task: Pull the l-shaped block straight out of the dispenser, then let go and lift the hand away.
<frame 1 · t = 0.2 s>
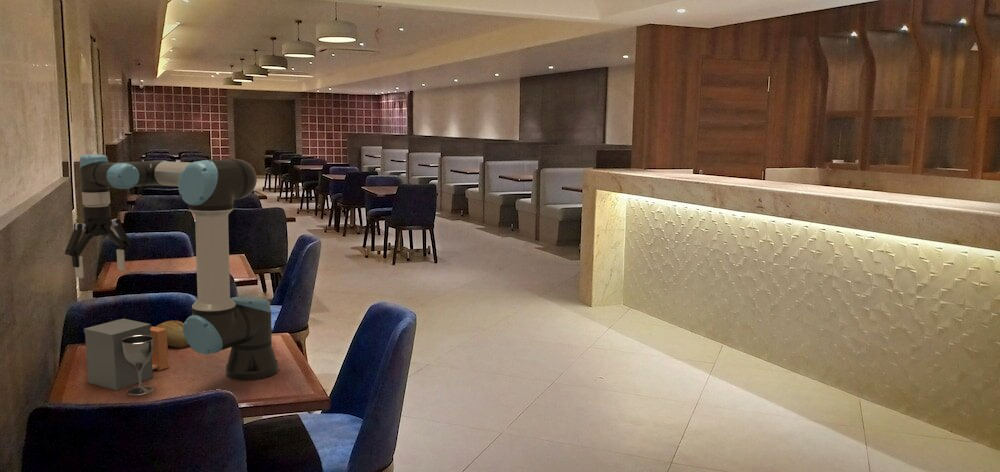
hand: (101, 273, 237), 27 cm above the table, tool pointing down, fingers open, 13 cm apart
wine glass: (140, 391, 214), on the table
l-shaped block: (145, 351, 229), point 6 cm above the table, slide at 0.0 cm
dispenser: (141, 373, 228), on the table
bread roll: (171, 345, 256), on the table
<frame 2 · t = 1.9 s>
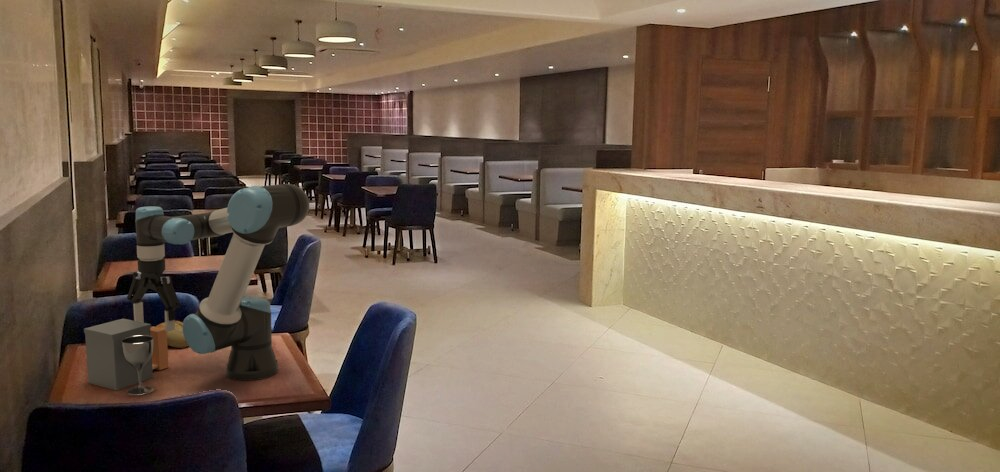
hand: (154, 327, 231), 13 cm above the table, tool pointing down, fingers open, 13 cm apart
nothing on the table moved.
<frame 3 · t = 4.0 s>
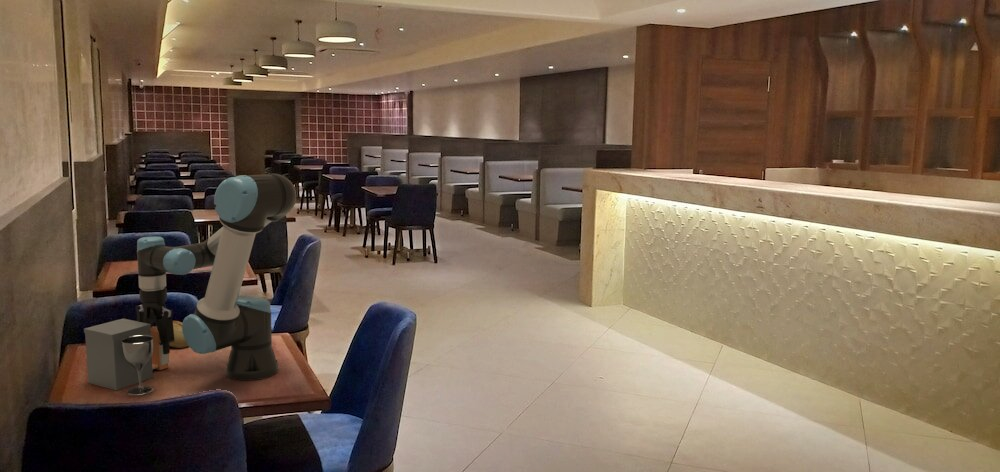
hand: (157, 361, 233), 2 cm above the table, tool pointing down, fingers closed on l-shaped block, 6 cm apart
l-shaped block: (145, 351, 229), point 6 cm above the table, slide at 0.0 cm, touching gripper
everything else where it was.
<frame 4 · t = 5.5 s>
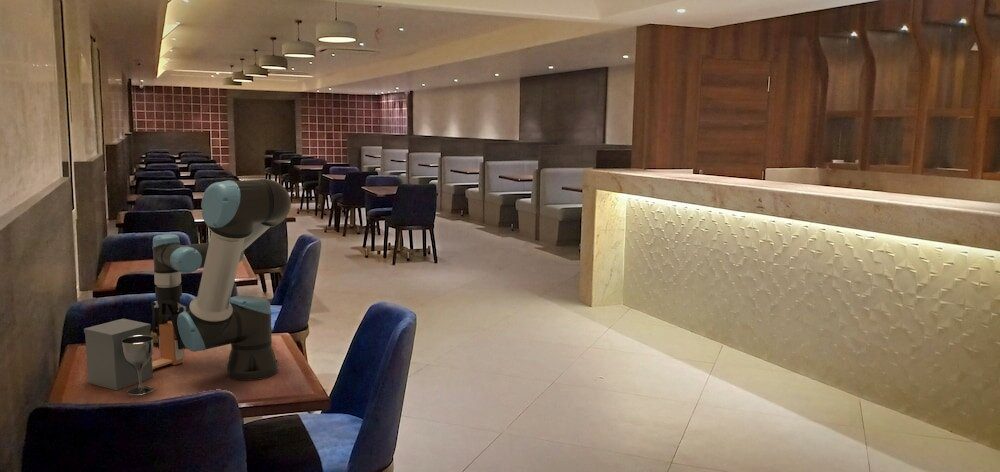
hand: (171, 357, 238), 2 cm above the table, tool pointing down, fingers closed on l-shaped block, 6 cm apart
l-shaped block: (160, 346, 234), point 6 cm above the table, slide at 5.4 cm, touching gripper
everything else where it was.
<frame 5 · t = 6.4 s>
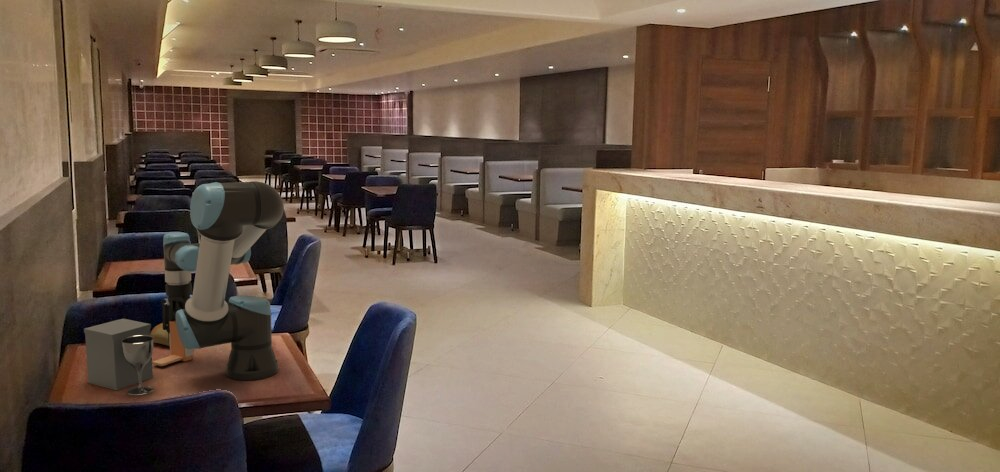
hand: (181, 353, 241), 2 cm above the table, tool pointing down, fingers closed on l-shaped block, 6 cm apart
l-shaped block: (170, 343, 237), point 6 cm above the table, slide at 9.3 cm, touching gripper
everything else where it was.
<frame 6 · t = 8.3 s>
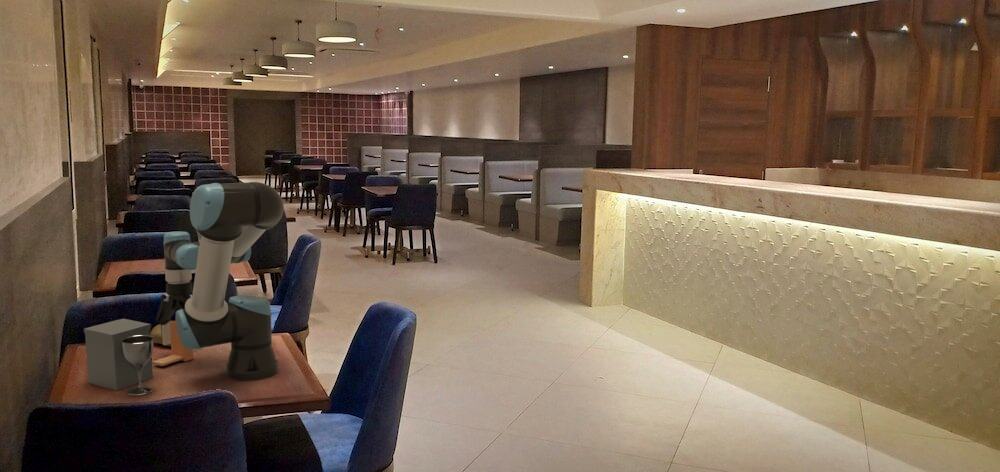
hand: (182, 347, 241), 4 cm above the table, tool pointing down, fingers open, 13 cm apart
l-shaped block: (171, 343, 237), point 6 cm above the table, slide at 9.5 cm
everything else where it was.
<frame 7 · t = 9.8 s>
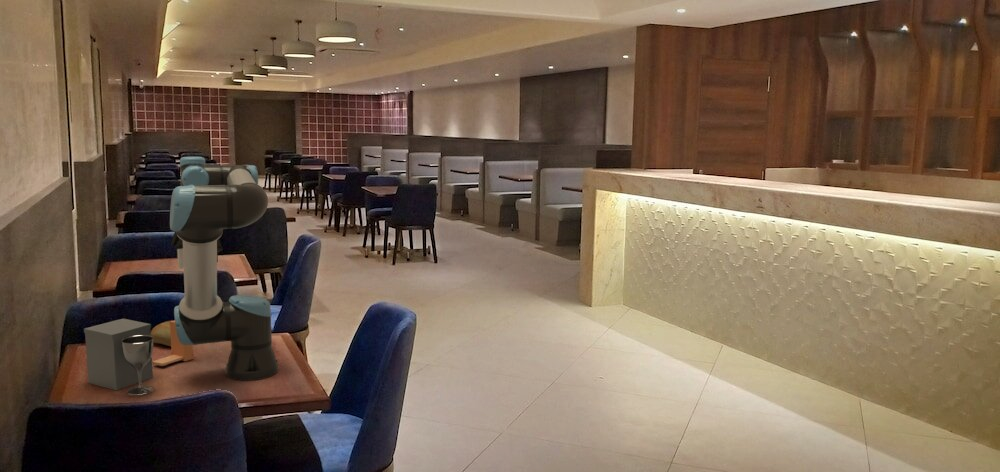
hand: (197, 270, 247), 27 cm above the table, tool pointing down, fingers open, 13 cm apart
nothing on the table moved.
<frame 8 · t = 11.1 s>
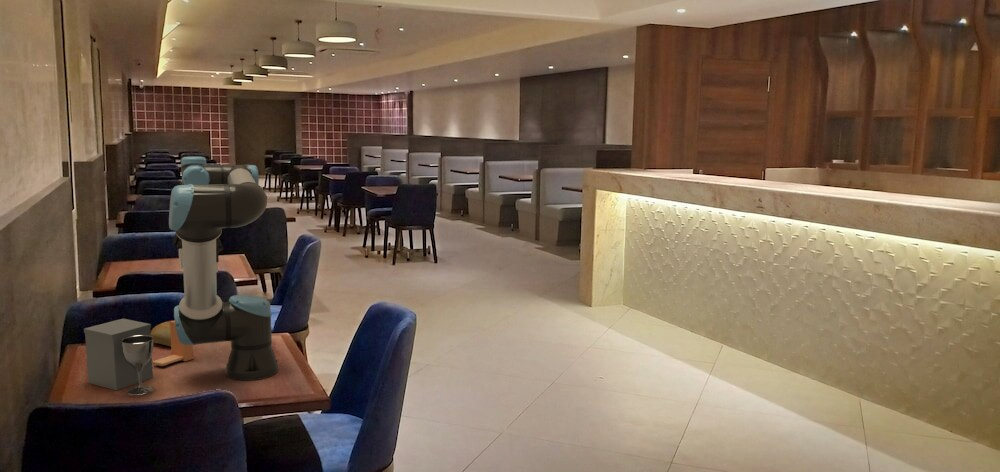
hand: (198, 270, 247), 27 cm above the table, tool pointing down, fingers open, 13 cm apart
nothing on the table moved.
at the end: l-shaped block slide at 9.5 cm; the gripper is holding nothing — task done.
